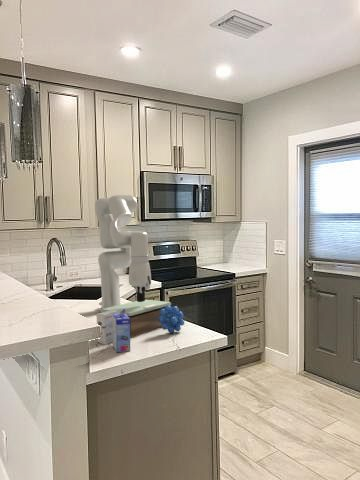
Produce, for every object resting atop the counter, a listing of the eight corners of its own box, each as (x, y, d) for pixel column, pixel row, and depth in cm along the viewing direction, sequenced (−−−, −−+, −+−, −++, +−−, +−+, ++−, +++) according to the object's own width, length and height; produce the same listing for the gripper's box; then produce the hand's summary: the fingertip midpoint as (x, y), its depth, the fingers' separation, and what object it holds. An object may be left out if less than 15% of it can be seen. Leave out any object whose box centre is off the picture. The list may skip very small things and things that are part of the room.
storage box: (103, 330, 172) (102, 312, 172) (143, 318, 190) (142, 302, 190) (131, 337, 160) (130, 318, 160) (171, 324, 178) (170, 307, 178)
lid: (102, 311, 171) (101, 307, 171) (143, 301, 190) (142, 298, 190) (131, 316, 159) (130, 311, 159) (171, 304, 178) (171, 301, 177)
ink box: (113, 337, 162) (112, 308, 161) (121, 339, 159) (120, 310, 158) (97, 342, 155) (95, 313, 154) (105, 344, 152) (103, 314, 151)
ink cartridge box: (131, 351, 143) (130, 312, 143) (116, 353, 142) (114, 313, 141) (127, 343, 153) (125, 306, 152) (112, 345, 151) (111, 308, 150)
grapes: (162, 337, 159) (161, 308, 158) (156, 333, 165) (155, 305, 164) (188, 333, 163) (187, 304, 163) (182, 329, 169) (181, 301, 169)
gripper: (122, 259, 174) (123, 300, 175) (145, 262, 164) (146, 305, 165) (134, 258, 179) (135, 297, 181) (158, 260, 170) (159, 302, 171)
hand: (141, 301), depth 173 cm, fingers closed
